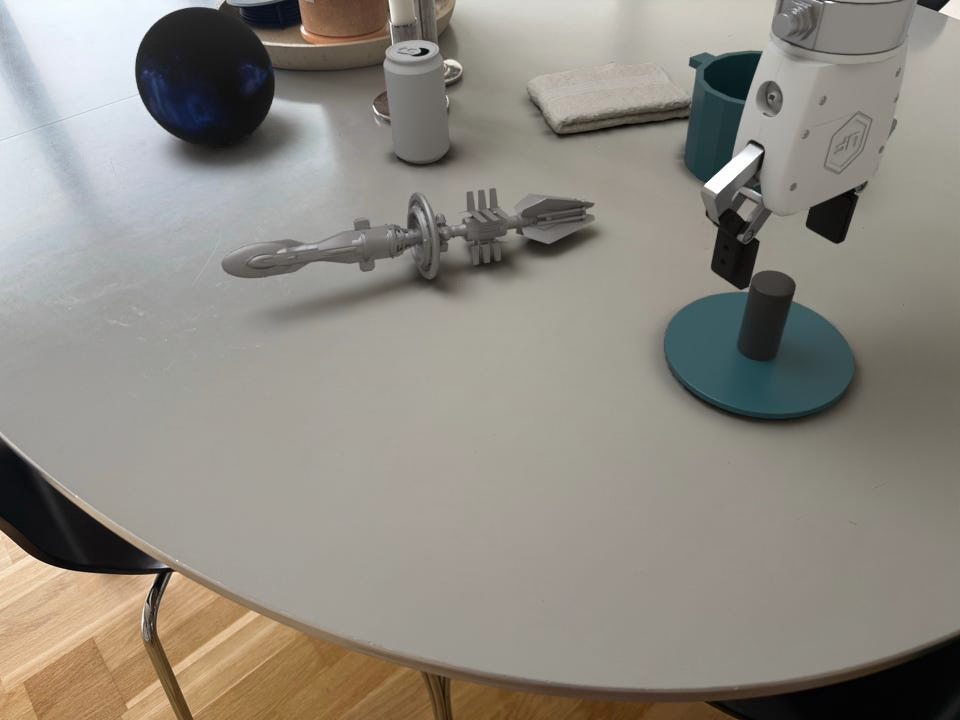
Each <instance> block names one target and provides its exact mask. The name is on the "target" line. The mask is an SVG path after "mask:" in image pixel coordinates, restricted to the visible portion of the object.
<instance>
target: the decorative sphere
mask: <svg viewBox="0 0 960 720" xmlns="http://www.w3.org/2000/svg"><path fill="white" fill-rule="evenodd" d="M134 74H135V75H134V77H135V84H136V88H137V91H138V94H139V97H140V100H141V101H142V104H143V105H144V107H145V110H147V112H148V113H149V115H150V116H151V118H153V120H154V121H155V122H156V123H157V124H158V125H159V126H160V127H161V128H162V129H163V130H165V131H166V132H167V133H168V134H170V135H172V136H174V137H175V138H177V139H179V140H182V141H183V142H186V143H189V144H192V145H195V146H201V147H215V148H216V147H224V146H228V145H231V144H235V143H238V142H240V141H242V140H244V139H246V138H247V137H248V136H250V135H252V133H254V132H255V131H256V130H257V129H258V128H259V127H260V126H261V125H262V124H263V122H264V121H265V119H266V117H267V116H268V114H269V112H270V110H271V107H272V105H273V101H274V97H275V89H276V77H275V70H274V67H273V62H272V59H271V57H270V55H269V52H268V50H267V48H266V46H265V44H264V43H263V41H262V40H261V39H260V38H259V36H258V35H257V33H256V32H255V31H254V30H253V29H252V28H251V27H249V26H248V25H247V24H246V23H245V22H243V20H240V19H239V18H237V17H236V16H234V15H233V14H230V13H228V12H227V11H223V10H221V9H216V8H213V7H206V6H205V7H204V6H189V7H184V8H179V9H176V10H173V11H171V12H169V13H167V14H165V15H163V16H162V17H160V18H159V19H158V20H157V21H156V22H154V23H153V24H152V25H151V26H150V27H149V28H148V30H147V32H145V34H144V35H143V37H142V39H141V41H140V42H139V46H138V49H137V52H136V55H135V63H134Z"/></svg>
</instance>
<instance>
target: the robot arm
mask: <svg viewBox="0 0 960 720" xmlns="http://www.w3.org/2000/svg"><path fill="white" fill-rule="evenodd" d="M775 1H776V2H775V7H774V10H773V15H772V22H771V24H770V25H771V26H770V29H769V30H770V31H769V39H770V40H768V41H766V43H765V46H764V47H763V50H762V51H763V53H762V56H761V58H760V61H759V63H758V66H757V69H756V72H755V75H754V78H753V81H752V84H751V87H750V90H749V93H748V96H747V100H746V103H745V106H744V110H743V113H742V117H741V121H740V125H739V129H738V133H737V137H736V141H735V146H734V151H733V156H732V160H731V161H730V162H729V163H728V164H727V165H726V166H724V167H723V168H722V169H721V170H720V171H719V172H718V173H717V174H716V175H715V176H714V177H713V178H711V179H710V180H709V181H708V182H707V183H706V182H705V184H704V185H703V186H702V188H701V190H700V196H701V199H702V203H703V206H704V209H705V213H704V215H705V217H706V218H707V219H708V220H709V221H710V222H711V223H712V225H713V226H714V227H715V228H717V232H716V238H715V242H714V246H713V253H712V256H711V257H712V258H711V264H710V269H711V271H712V272H713V273H714V274H715V275H717V276H719V278H722V279H723V280H724V281H726V282H727V283H728V284H730V285H731V286H733V287H735V288H736V289H738V290H739V291H742V290H745V289H747V288H750V284H751V280H752V277H753V273H754V269H755V265H756V262H757V261H756V260H757V257H758V252H759V247H760V243H761V240H759V239H758V238H756V236H757V234H758V233H759V232H760V230H761V229H762V227H763V226H764V225H765V223H766V222H767V220H768V219H769V217H770V216H771V215H772V213H773V214H774V215H775V216H778V217H788V216H789V217H790V216H792V215H795V214H797V213H801V212H803V211H806V210H808V213H807V216H806V220H805V223H804V224H805V228H807V229H808V230H810V231H811V232H813V233H815V234H817V235H819V236H821V237H822V238H824V239H826V240H827V241H829V242H831V243H832V244H835V245H839V244H840V243H843V242H845V241H846V238H847V235H848V232H849V229H850V225H851V223H852V219H853V216H854V213H855V211H856V207H857V204H858V201H859V198H860V196H859V195H857V194H861V193H862V192H863V191H864V190H865V189H866V188H867V186H868V184H869V180H870V179H871V178H872V177H873V176H875V174H876V173H877V172H878V170H879V167H880V165H881V162H882V158H883V155H884V152H885V149H886V146H887V144H888V143H887V142H888V140H889V139H890V137H891V136H892V134H893V132H894V131H895V129H896V128H897V125H898V119H896V118H895V113H896V109H897V106H898V101H899V98H900V93H901V88H902V84H903V80H904V74H905V70H906V69H905V68H906V62H907V55H908V42H909V35H908V32H909V28H910V25H911V22H912V20H913V17H914V13H915V10H916V6H917V4H918V0H775ZM760 184H761V192H762V194H760V193H759V192H757V191H755V190H753V189H752V187H755V186H757V185H760ZM746 200H749V201H751V203H752V202H753V203H754V204H756V206H755V208H754V209H753V210H752V211H751V213H750V214H749V216H747V219H746V220H745V219H744V218H743V217H742V216H741V215H740V214H739V213H738V211H739V210H740V209H741V207H742V205H743V204H744V203H745V201H746Z"/></svg>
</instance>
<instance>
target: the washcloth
mask: <svg viewBox="0 0 960 720" xmlns="http://www.w3.org/2000/svg"><path fill="white" fill-rule="evenodd" d="M525 90H526V92H527V94H528V96H529V97H530V99H531V100H532V102H534V105H536V106H537V107H539V109H540V111H541V112H542V116H543V118H544V119H545V121H546V122H547V124H548V125H549V126H550V127H551V129H552V130H553V131H554V132H555V133H557V134H560V135H561V134H577V133H581V132H587V131H595V130H600V129H605V128H609V127H615V126H621V125H625V124H642V123H643V124H644V123H648V122H658V121H661V122H662V121H665V120H669V119H670V120H671V119H672V118H681V119H683V118H684V117H690V110H691V103H692V96H693V93H692V94H689V93H688V92H687V91H686V90H684V89H683V87H682V85H680V84H679V83H678V82H677V81H676V80H675V79H674V78H673V76H672V75H671V74H670V72H668V71H667V70H666V69H665V68H664V67H663V66H659V65H658V64H656V63H655V62H651V61H648V62H645V63H640V64H639V63H638V64H621V63H618V62H617V61H615V62H610V63H608V64H605V65H600V66H595V67H585V68H576V69H569V70H564V71H560V72H554V73H546V74H545V73H544V74H540V75H538V76H535V77H533V78H532V79H529V80H528V81H527V83H526V85H525Z"/></svg>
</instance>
